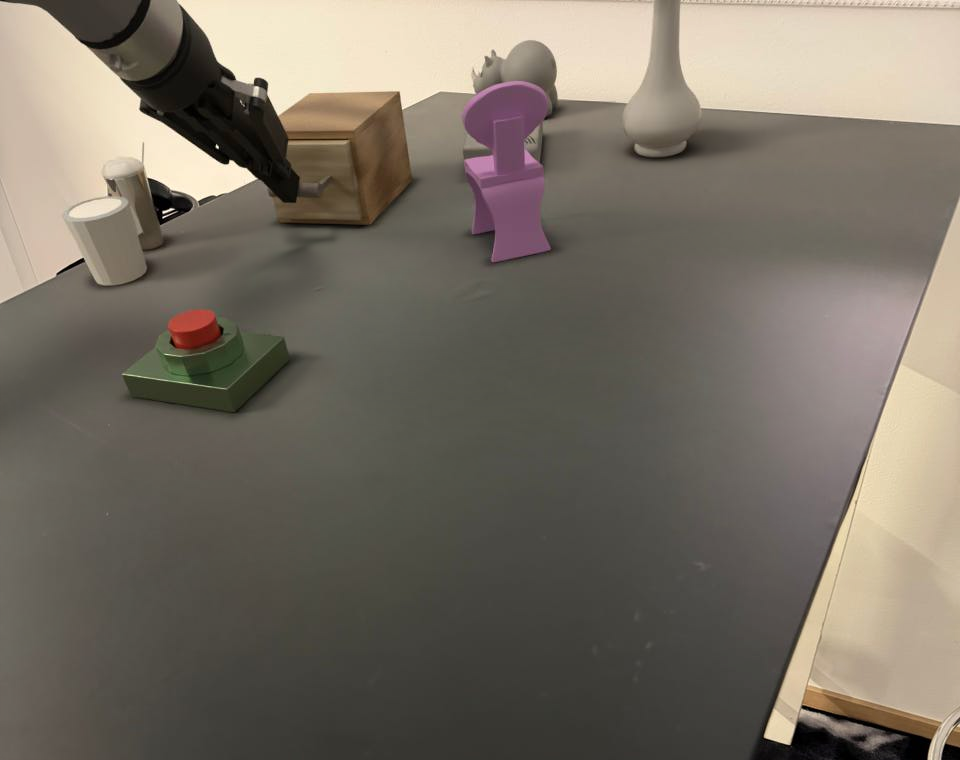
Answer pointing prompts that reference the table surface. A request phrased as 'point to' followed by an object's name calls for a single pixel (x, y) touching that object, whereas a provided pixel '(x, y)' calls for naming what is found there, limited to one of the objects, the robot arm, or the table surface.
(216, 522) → the table surface
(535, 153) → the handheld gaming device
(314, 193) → the drawer
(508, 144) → the toy chair
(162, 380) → the button block
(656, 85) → the flower vase
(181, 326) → the button
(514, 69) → the toy rhinoceros
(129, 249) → the white cup
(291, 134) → the cabinet
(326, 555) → the table surface
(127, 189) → the milkshake
